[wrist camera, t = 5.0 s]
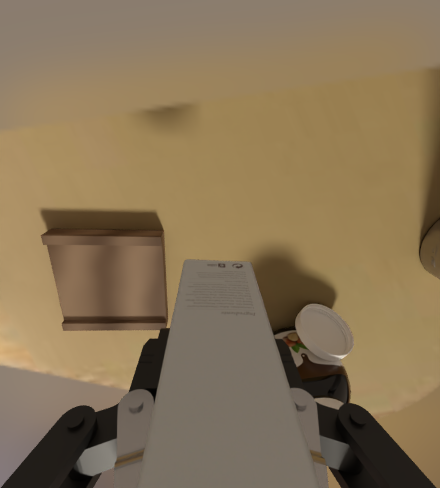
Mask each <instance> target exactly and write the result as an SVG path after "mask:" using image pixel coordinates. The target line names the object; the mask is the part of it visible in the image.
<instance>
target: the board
mask: <svg viewBox="0 0 440 488" xmlns="http://www.w3.org/2000/svg"><path fill="white" fill-rule="evenodd" d="M41 238H42V242H43V245H47V247H48V252H49V256H50V260H51V265H52V269H53V274H54V278H55V282H56V287H57V291H58V295H59V300H60V304H61V309H62V313H63V317H64V321H63V323H62V327H63V331H83V330H160V329H161V328H166V326H167V322H168V307H167V286H166V265H165V244H164V231H162V230H99V229H51V230H49V231H48V232H46V233H44V234H43V235H41Z"/></svg>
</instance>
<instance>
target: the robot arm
mask: <svg viewBox="0 0 440 488" xmlns="http://www.w3.org/2000/svg"><path fill="white" fill-rule="evenodd" d="M420 258H421V262H422V265H423V266H424V268H425V269H426V270H427V271H428V272H429V273H430V274H432V275H434V276H435V277H437V278H439V279H440V219H439V220H438V221H437V222H436V223H435V224H434V225H433V226H432V227H431V228H430V230H429V231H428V233H427V234H426V236H425V238H424V240H423V242H422V246H421V250H420ZM169 331H170V328H161V329H160V333H159V337H158V339H149V340H148V341H147V342H146V344H145V345H144V346H143V349H142V352H141V356H140V358H139V361H138V365H137V368H136V371H135V374H134V377H133V380H132V384H131V387H130V390H129V392H128V393H127V394H126V395H125V396H124V397H123V398H122V399H121V401H120V402H119V403H118V404H117V405H115V406H113V407H110V408H108V409H104V410H101V411H98V412H95V411H94V409H93V408H92V407H89V406H84V405H83V406H77V407H75V408H72V409H70V410H69V411H67V412H66V413H65V414H64V415H62V417H61V418H60V419H59V420H58V421H57V422H56V423H55V425H54V426H53V427H52V428H51V430H49V432H48V433H47V434H46V435H45V436H44V438H43V439H42V440H41V441H40V442H39V444H38V445H37V446H36V447H35V448H34V449H33V450H32V452H31V453H30V454H29V455H28V456H27V458H26V459H25V460H24V461H23V462H22V463H21V465H20V466H19V467H18V468H17V469H16V471H15V472H14V473H13V474H12V475H11V476H10V477H9V479H8V480H7V481H6V482H5V483H4V485H3V486H2V487H1V488H93V487H94V485H95V483H96V482H97V480H98V479H99V477H100V475H101V473H102V472H104V471H106V470H109V469H111V468H114V488H137V485H138V480H139V475H140V469H141V465H142V460H143V455H144V450H145V445H146V440H147V436H148V431H149V426H150V421H151V417H152V412H153V407H154V403H155V398H156V393H157V388H158V384H159V379H160V374H161V369H162V365H163V360H164V355H165V350H166V346H167V341H168V336H169ZM272 332H273V331H272ZM273 335H274V334H273ZM274 339H275V337H274ZM275 342H276V345H277V348H278V351H279V354H280V358H281V361H282V364H283V367H284V370H285V374H286V377H287V380H288V383H289V387H290V390H291V393H292V396H293V399H294V403H295V406H296V409H297V412H298V415H299V418H300V421H301V424H302V427H303V430H304V433H305V437H306V440H307V443H308V447H309V450H310V453H311V456H312V460H313V463H314V466H315V470H316V473H317V477H318V481H319V484H320V487H321V488H329V487H328V477H327V468H326V466H328V467H329V469H330V470H331V472H332V473H333V475H334V477H335V478H336V480H337V481H338V483H339V485H340V486H341V488H436V487H435V486H434V485H433V483H431V481H430V480H429V479H428V478H427V477H426V476H425V475H424V473H423V472H422V471H421V470H420V469H419V468H418V467H417V466H416V464H415V463H414V462H413V461H412V460H411V459H410V458H409V457H408V456H407V454H406V453H405V452H404V451H403V450H402V449H401V448H400V447H399V445H398V444H397V443H396V442H395V441H394V440H393V439H392V438H391V437H390V436H389V434H388V433H387V432H386V431H385V430H384V429H383V428H382V426H381V425H380V424H379V423H378V422H377V421H376V420H375V419H374V418H373V416H372V415H371V414H370V413H369V412H368V411H367V410H365V409H364V408H362V407H361V406H359V405H356V404H352V403H346V404H343V405H342V406H340V408H339V410H338V409H334V408H331V407H327V406H324V405H321V404H319V403H318V402H316V401H315V400H314V398H313V397H312V396H311V395H310V394H309V393H308V392H306V390H305V388H304V385H303V383H302V380H301V377H300V375H299V372H298V369H297V367H296V364H295V362H294V359H293V356H292V353H291V351H290V348H289V346H288V345H287V344H286V343H285V342H284V340H283V339H275Z"/></svg>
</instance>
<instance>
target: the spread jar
mask: <svg viewBox="0 0 440 488" xmlns="http://www.w3.org/2000/svg"><path fill="white" fill-rule="evenodd" d="M295 326H296V327H289V328H284V329H280V330H278V331H276V332H274V333H273V334H274V337H275V339H283V340H284V342H285V343H286V344H287V345H288V346H289V348H290V351H291V353H292V356H293V359H294V362H295V364H296V367H297V369H298V372H299V375H300V377H301V380H302V383H303V385H304V388H305V390H306V392H308V393H309V394H310V395H311V396H312V397H313V398H314V400H315V401H316V402H318V403H319V404H321V405H324V406H327V407H331V408H334V409H338V410H339V408H340V406H342V405H343V404H346V403H350V399H351V390H350V383H349V379H348V375H347V373H346V370H345V368H344V366H343V364H342V362H341V361H340V360H341V359H342V358H344V357H345V356H346V355H347V354H349V353H350V352H351V350H352V349H353V346H354V339H353V335H352V332H351V330H350V328H349V326H348V325H347V323H346V322H345V321H344V320H343V319H342V317H341V316H339V315H338V314H337V313H336V312H335V311H333V310H332V309H330V308H328V307H326V306H323V305H320V304H309V305H306V306H305V307H304V308H303V309H302V310H301V311H300V312H299V313H298V315H297V317H296V320H295Z"/></svg>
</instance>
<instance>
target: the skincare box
mask: <svg viewBox="0 0 440 488" xmlns="http://www.w3.org/2000/svg"><path fill="white" fill-rule="evenodd" d="M137 488H321V487H320V484H319V481H318V477H317V473H316V470H315V466H314V463H313V460H312V456H311V453H310V450H309V447H308V443H307V440H306V437H305V433H304V430H303V427H302V424H301V421H300V418H299V415H298V412H297V409H296V406H295V403H294V399H293V396H292V393H291V390H290V387H289V383H288V380H287V377H286V374H285V370H284V367H283V364H282V361H281V358H280V354H279V351H278V348H277V345H276V342H275V339H274V335H273V332H272V329H271V326H270V322H269V319H268V316H267V313H266V309H265V306H264V303H263V299H262V296H261V293H260V290H259V286H258V283H257V280H256V277H255V274H254V270H253V267H252V264H251V262H241V261H212V260H190V259H188V260H185V261H184V264H183V269H182V274H181V279H180V284H179V289H178V294H177V298H176V303H175V308H174V312H173V316H172V321H171V326H170V331H169V336H168V341H167V346H166V350H165V355H164V360H163V365H162V369H161V374H160V379H159V384H158V388H157V393H156V398H155V403H154V407H153V412H152V417H151V421H150V426H149V431H148V436H147V440H146V445H145V450H144V455H143V460H142V465H141V469H140V475H139V480H138V485H137Z"/></svg>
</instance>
